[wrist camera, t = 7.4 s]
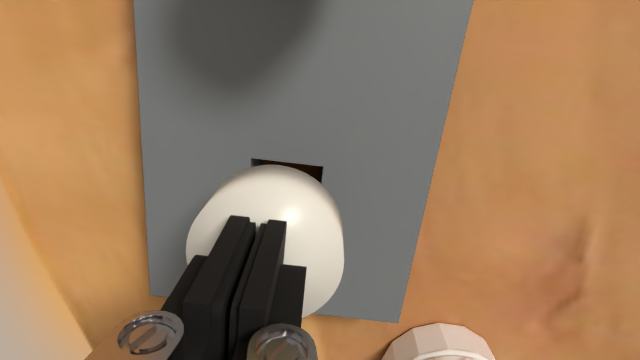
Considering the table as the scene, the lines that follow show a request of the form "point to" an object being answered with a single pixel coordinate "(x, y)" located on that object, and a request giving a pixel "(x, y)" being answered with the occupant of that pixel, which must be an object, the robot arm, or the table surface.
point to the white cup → (439, 344)
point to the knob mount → (299, 120)
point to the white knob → (285, 205)
